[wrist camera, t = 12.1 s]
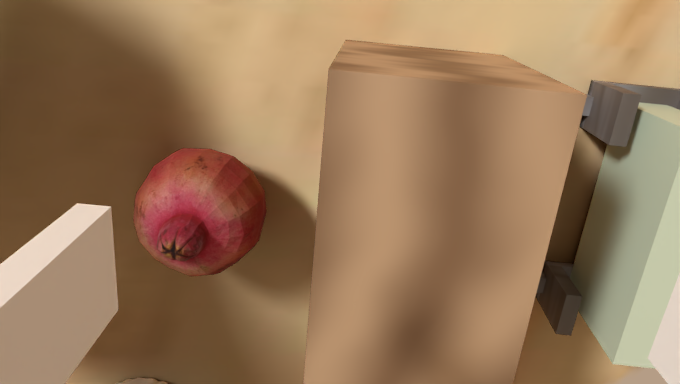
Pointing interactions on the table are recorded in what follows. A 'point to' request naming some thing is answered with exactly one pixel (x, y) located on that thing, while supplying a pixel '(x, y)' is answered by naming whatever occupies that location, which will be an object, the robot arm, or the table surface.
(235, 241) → the fruit
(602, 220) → the door
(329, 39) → the table surface
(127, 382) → the vase
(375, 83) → the wooden shelf unit
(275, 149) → the table surface
